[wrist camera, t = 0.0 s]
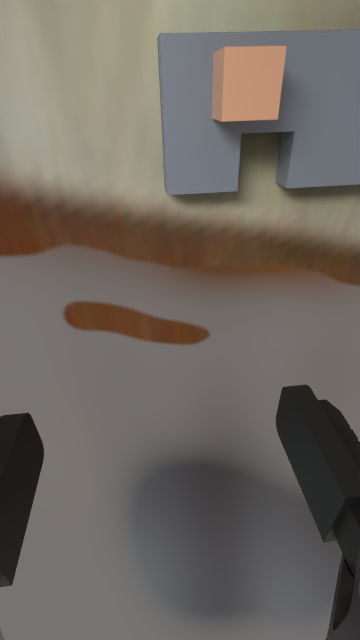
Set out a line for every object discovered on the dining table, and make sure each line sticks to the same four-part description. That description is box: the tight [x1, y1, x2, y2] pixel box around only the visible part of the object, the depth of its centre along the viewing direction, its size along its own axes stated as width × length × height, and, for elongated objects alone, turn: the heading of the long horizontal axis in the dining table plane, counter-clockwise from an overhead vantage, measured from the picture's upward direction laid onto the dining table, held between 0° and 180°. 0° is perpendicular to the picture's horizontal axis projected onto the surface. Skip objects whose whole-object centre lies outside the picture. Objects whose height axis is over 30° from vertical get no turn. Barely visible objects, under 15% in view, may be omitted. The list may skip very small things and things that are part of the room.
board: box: [157, 30, 360, 195], centre depth 30 cm, size 12×32×5 cm, turn 91°
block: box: [212, 46, 287, 122], centre depth 26 cm, size 4×4×4 cm
